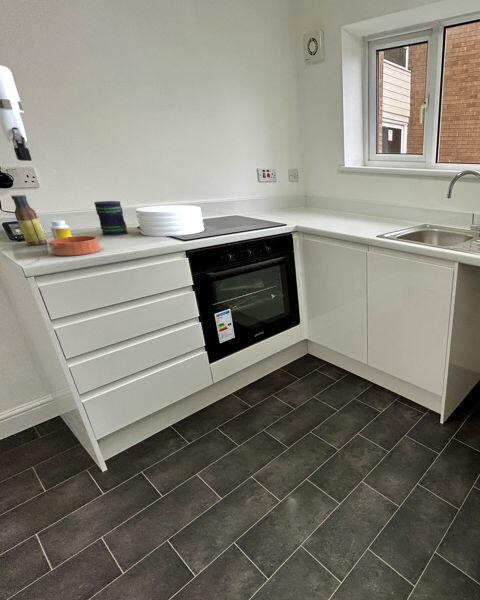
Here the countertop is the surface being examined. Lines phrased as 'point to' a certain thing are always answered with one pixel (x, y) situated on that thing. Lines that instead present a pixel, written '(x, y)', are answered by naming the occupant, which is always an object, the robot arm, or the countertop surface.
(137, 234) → the countertop surface
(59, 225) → the supplement bottle
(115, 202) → the storage jar
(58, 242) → the bowl
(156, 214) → the plate stack
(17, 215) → the sauce bottle
